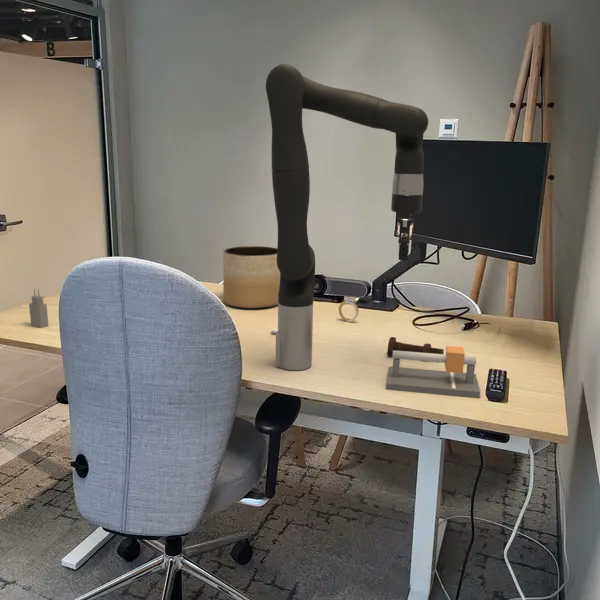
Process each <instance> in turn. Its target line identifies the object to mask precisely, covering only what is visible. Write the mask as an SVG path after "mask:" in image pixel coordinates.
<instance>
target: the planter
mask: <svg viewBox="0 0 600 600" xmlns="http://www.w3.org/2000/svg"><path fill="white" fill-rule="evenodd" d="M222 253H223V261H222V262H223V264H222V265H223V278H222V279H223V281H222V282H223V283H222V284H223V288H222V289H223V294H222V295H223V296H222V297H223V301H224V303H225V304H227V306H230V307H232V308H236V309H242V310H262V309H264V310H265V309H270V308H273V307H276V306H278V292H279V286H280V271H279V269H278V267H277V247H270V246H259V245H258V246H257V245H256V246H254V245H253V246H252V245H247V246H245V245H244V246H243V245H242V246H233V247H228V248H225V249H224V250H223V252H222Z"/></svg>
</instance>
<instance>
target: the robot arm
mask: <svg viewBox="0 0 600 600" xmlns="http://www.w3.org/2000/svg"><path fill="white" fill-rule="evenodd" d="M265 90H266V91H265V92H266V96H267V103H268V108H269V114H270V122H271V178H272V179H271V180H272V191H273V199H274V207H275V215H276V223H277V247H276V248H277V267H278V269H279V271H280V286H279V292H278V305H277V328H278V331H277V332H276V334H275V367H276V368H280V369H283V370H287V371H303V370H307V369H309V368H311V367H312V365H313V361H312V360H313V331H314V330H313V329H314V328H313V327H314V325H313V324H314V294H315V282H316V281H315V279H316V278H315V277H316V254H315V251H314V250H313V248H312V246H311V245H310V244H309V235H308V214H309V213H308V212H309V206H310V205H309V204H310V196H311V195H310V193H311V191H310V190H311V189H310V188H311V181H310V180H311V178H310V165H309V164H310V163H309V155H308V149H307V144H306V139H305V135H304V127H303V109H305V110H310V111H316V112H320V113H324V114H327V115H330V116H333V117H336V118H341V119H343V120H345V121H349V122H352V123H354V124H358V125H360V126H361V125H362V126H364V127H369V128H372V129H377V130H385V131H389V132H390V133H394V134H395V157H394V158H395V159H394V171H393V172H394V173H393V180H392V189H391V190H392V191H391V192H392V193H391V207H390V210H391V212H394V213H400V214H401V215H400V218H397V222H396V223H397V226H396V227H397V237H398V239H397V242H398V260H399V261H408V260H409V259H408V258H409V250H410V248H409V246H410V243H411V238H412V234H413V228H414V224H415V223H414V222H415V219H414V218H412V217H413V215H412V214H418V213H421V212H422V210H423V195H424V166H425V165H424V163H425V155H424V154H425V153H424V151H423V145H424V134H425V132H426V131H427V129H428V126H429V117H428V115H427V114H426V112H425V111H424V110H423V109H422V108H419V107H416V106H414V105H409V104H404V103H399V102H394V101H393V102H392V101H389V100H386V99H384V98H381V97H378V96H375V95H371V94H368V93H364V92H360V91H359V92H358V91H354V90H349V89H343V88H336V87H332V86H328V85H325V84H321V83H319V82H316V81H314V80H312V79H310V78H308V77H306V76H304V75H303V74H302V73H301V72H300V70H299V69H297V68H296V67H295V66H293V65H291V64H287V63H281V64H279V65H276V66H274V67H273V68H272V69H271V70H270V72H269V73H268V75H267V77H266V79H265Z"/></svg>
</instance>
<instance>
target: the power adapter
mask: <svg viewBox="0 0 600 600" xmlns="http://www.w3.org/2000/svg"><path fill="white" fill-rule="evenodd" d="M33 291H34V292H33V294H34V295H31V303H28V304H29V305H28V307H29V308H28V309H29V317H30V326H31V327H34V328H38V329H44V328H47V327H49V316H48V315H49V314H48V308H47V307H48V304H47V303H44V299H43V298H44V296H42V295H40V291H39V289H37V294H36V289H35V288H34V289H33Z"/></svg>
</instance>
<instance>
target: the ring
mask: <svg viewBox="0 0 600 600" xmlns="http://www.w3.org/2000/svg"><path fill="white" fill-rule="evenodd" d="M348 304H349V305H352V307H353V308H354V311H355V314H354V317H353V318H346V317H345V316H344V314H343V310H342V309H343V306H345V305H348ZM338 313H339V315H340V318H341V319H343V321H345V322H347V323H350V322H352V321H355V320H356V319H357V318H358V315H359V307H358V305H357V304H356V303H355V300H354V299H352V298H345V300H344V301H342V302H341V303H340V304H339V306H338Z"/></svg>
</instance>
